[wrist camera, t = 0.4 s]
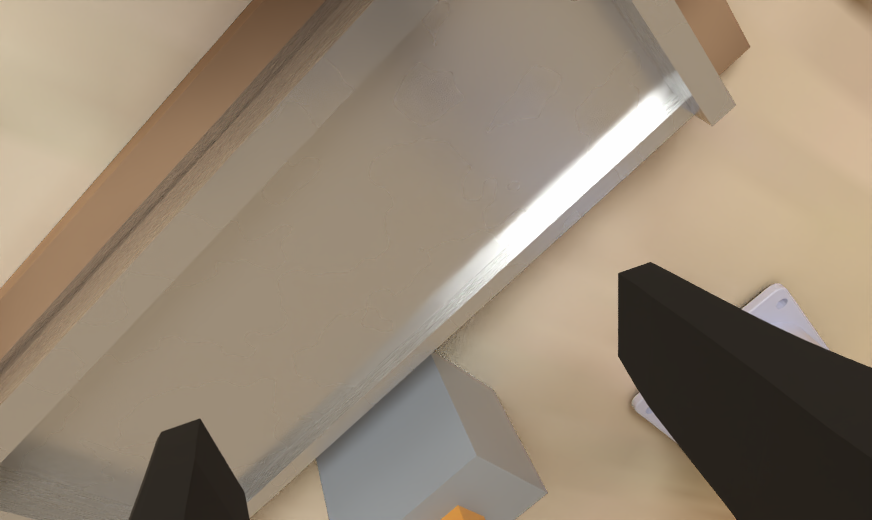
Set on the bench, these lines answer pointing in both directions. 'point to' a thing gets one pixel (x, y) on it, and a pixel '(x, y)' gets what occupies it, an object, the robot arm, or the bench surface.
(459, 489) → the block
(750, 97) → the bench surface
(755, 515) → the robot arm
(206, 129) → the board
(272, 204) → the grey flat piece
